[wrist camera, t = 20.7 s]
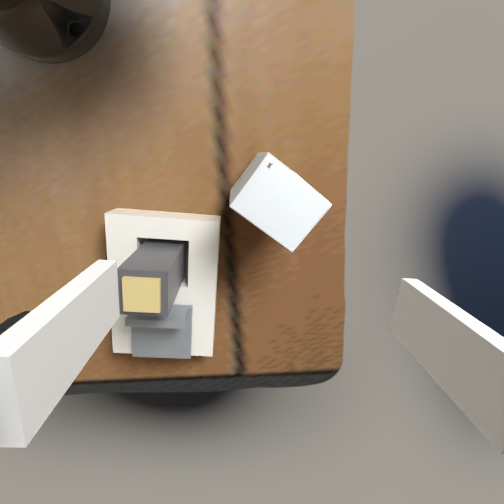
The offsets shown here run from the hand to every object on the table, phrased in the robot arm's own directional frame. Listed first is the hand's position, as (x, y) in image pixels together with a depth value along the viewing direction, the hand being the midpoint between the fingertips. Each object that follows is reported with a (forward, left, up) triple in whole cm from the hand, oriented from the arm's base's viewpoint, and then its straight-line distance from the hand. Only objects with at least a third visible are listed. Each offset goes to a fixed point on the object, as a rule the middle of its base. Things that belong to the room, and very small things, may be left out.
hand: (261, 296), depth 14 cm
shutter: (+18, -10, -24) cm, 32 cm away
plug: (+8, -10, -28) cm, 31 cm away
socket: (+12, -10, -29) cm, 33 cm away
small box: (-2, +3, -29) cm, 29 cm away
